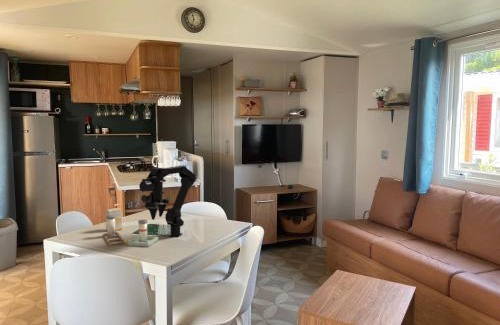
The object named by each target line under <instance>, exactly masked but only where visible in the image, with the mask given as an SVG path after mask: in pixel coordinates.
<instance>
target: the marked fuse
mask: <svg viewBox="0 0 500 325" xmlns="http://www.w3.org/2000/svg"><path fill="white" fill-rule="evenodd" d="M137 223H138V236H139V242H145V243H147V242H148V238H147V236H148V220H147V219H139V220H138V221H137Z"/></svg>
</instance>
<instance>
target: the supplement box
mask: <svg viewBox="0 0 500 325" xmlns="http://www.w3.org/2000/svg"><path fill="white" fill-rule="evenodd" d="M122 213H123V212H122V208H119V207H114V208H109V209H105V223H106V228H107V216H108V215H115V231H119V230H123V216H122V215H123V214H122Z"/></svg>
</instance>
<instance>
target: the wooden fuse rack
mask: <svg viewBox="0 0 500 325" xmlns="http://www.w3.org/2000/svg"><path fill="white" fill-rule="evenodd" d="M115 233H116V235H115V236H107V233H102V236H103V238H104V240H105V242H106V243H107V245H108V246H109V247H114V246H115V247H116V246H123V245H127V244H128V241H129V240H125V238H123V237H122V236H121V234H120V233H119V232H118V231H115Z"/></svg>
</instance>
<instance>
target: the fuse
mask: <svg viewBox="0 0 500 325" xmlns="http://www.w3.org/2000/svg"><path fill="white" fill-rule="evenodd" d="M106 232H107V235H106V237H107V236H115V235H117V234H116V233H115V232H116V230H115V215H108V216H107V227H106Z"/></svg>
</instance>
